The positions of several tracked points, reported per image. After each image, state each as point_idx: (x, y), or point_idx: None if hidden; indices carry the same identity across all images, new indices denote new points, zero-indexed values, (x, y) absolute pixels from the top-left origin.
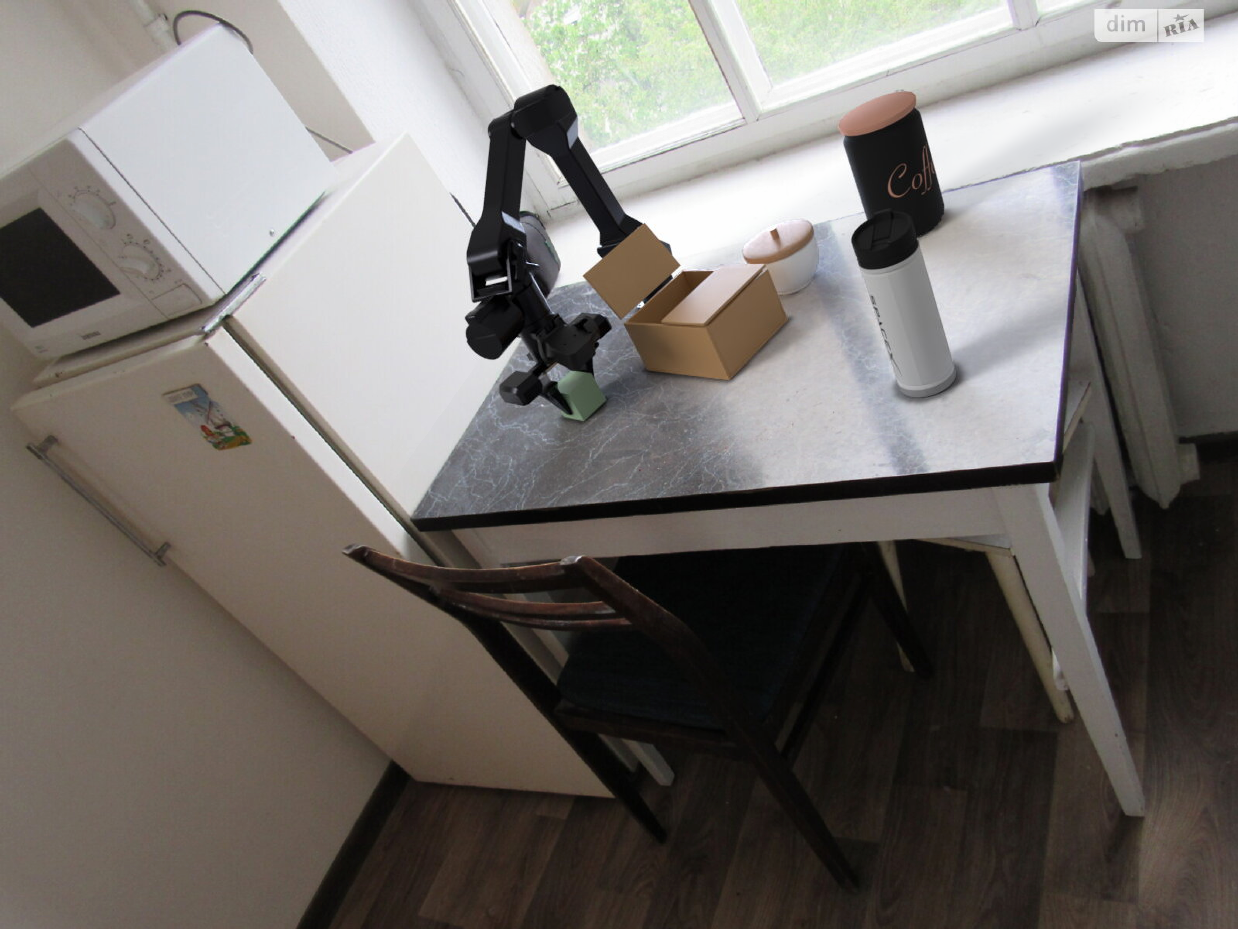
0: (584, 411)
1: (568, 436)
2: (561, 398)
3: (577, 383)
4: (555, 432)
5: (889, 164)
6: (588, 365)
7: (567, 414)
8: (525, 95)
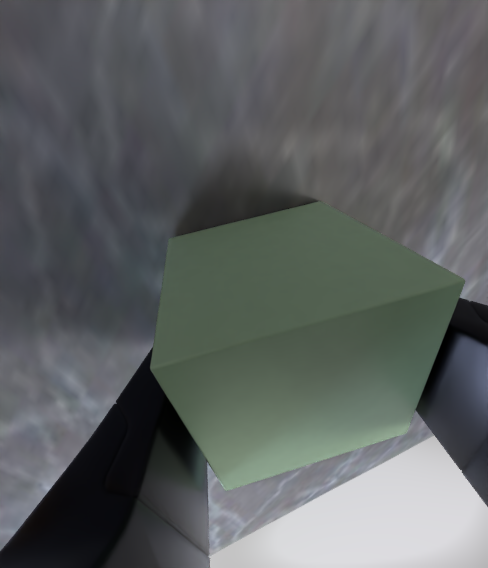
0: (311, 218)
1: (417, 178)
2: (456, 315)
3: (317, 349)
4: None
5: None
6: (116, 473)
7: None
8: None
